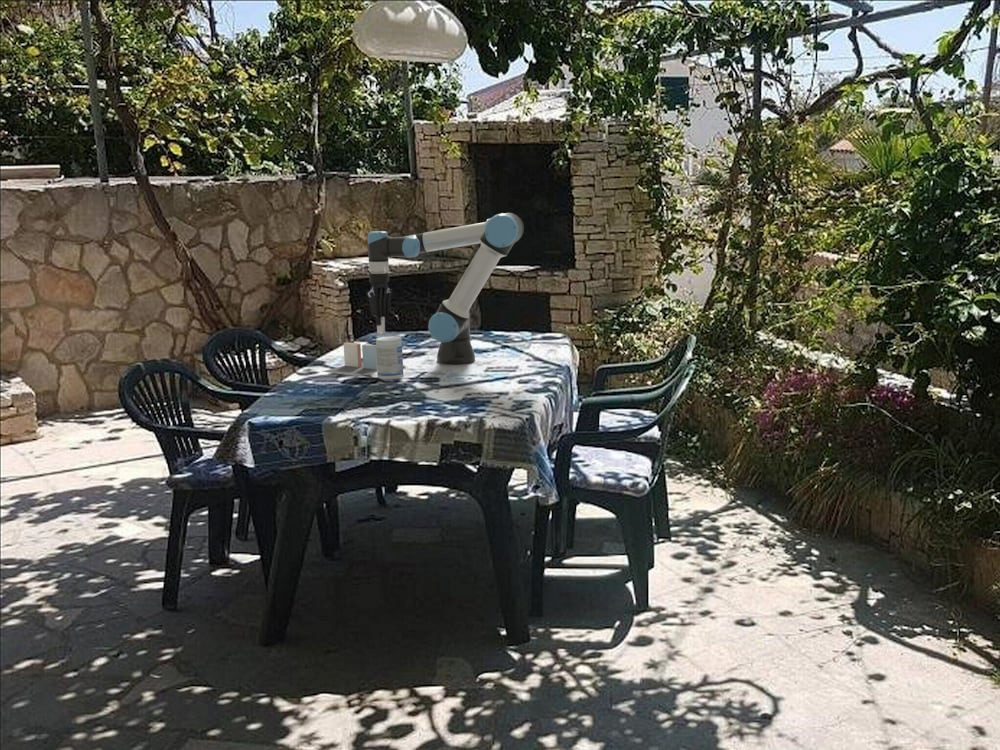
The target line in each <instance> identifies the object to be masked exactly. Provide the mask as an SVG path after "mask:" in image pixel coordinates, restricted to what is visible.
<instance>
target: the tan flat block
mask: <svg viewBox="0 0 1000 750" xmlns="http://www.w3.org/2000/svg"><path fill="white" fill-rule="evenodd" d="M361 350H362V345H361V343H357V342H356V343H355V342H347V341H346V342H344V343H343V356H344V357H343V358H344V366H351V367H362V365H361V361H362V351H361Z"/></svg>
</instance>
